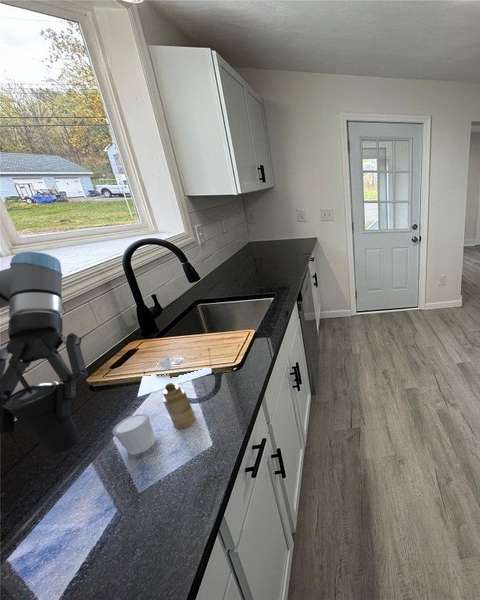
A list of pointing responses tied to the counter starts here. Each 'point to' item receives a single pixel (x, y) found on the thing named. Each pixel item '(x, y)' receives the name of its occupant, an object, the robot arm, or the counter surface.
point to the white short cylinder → (135, 433)
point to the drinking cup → (42, 415)
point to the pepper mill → (178, 406)
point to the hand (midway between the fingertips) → (35, 424)
